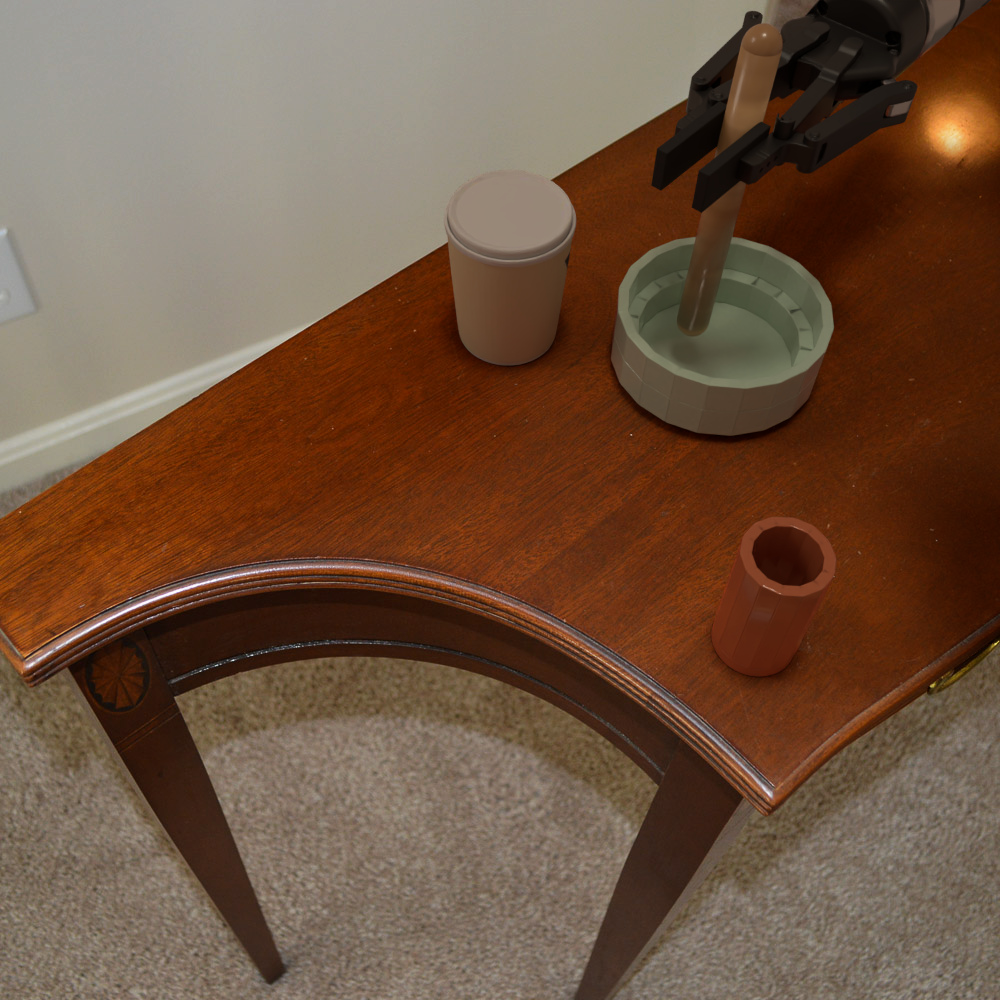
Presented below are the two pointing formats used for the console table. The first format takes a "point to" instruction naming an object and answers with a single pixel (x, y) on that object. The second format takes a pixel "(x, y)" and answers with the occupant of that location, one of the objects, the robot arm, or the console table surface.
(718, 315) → the bowl
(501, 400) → the console table surface
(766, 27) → the stick
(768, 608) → the crock
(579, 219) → the console table surface
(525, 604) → the console table surface
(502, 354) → the coffee cup
